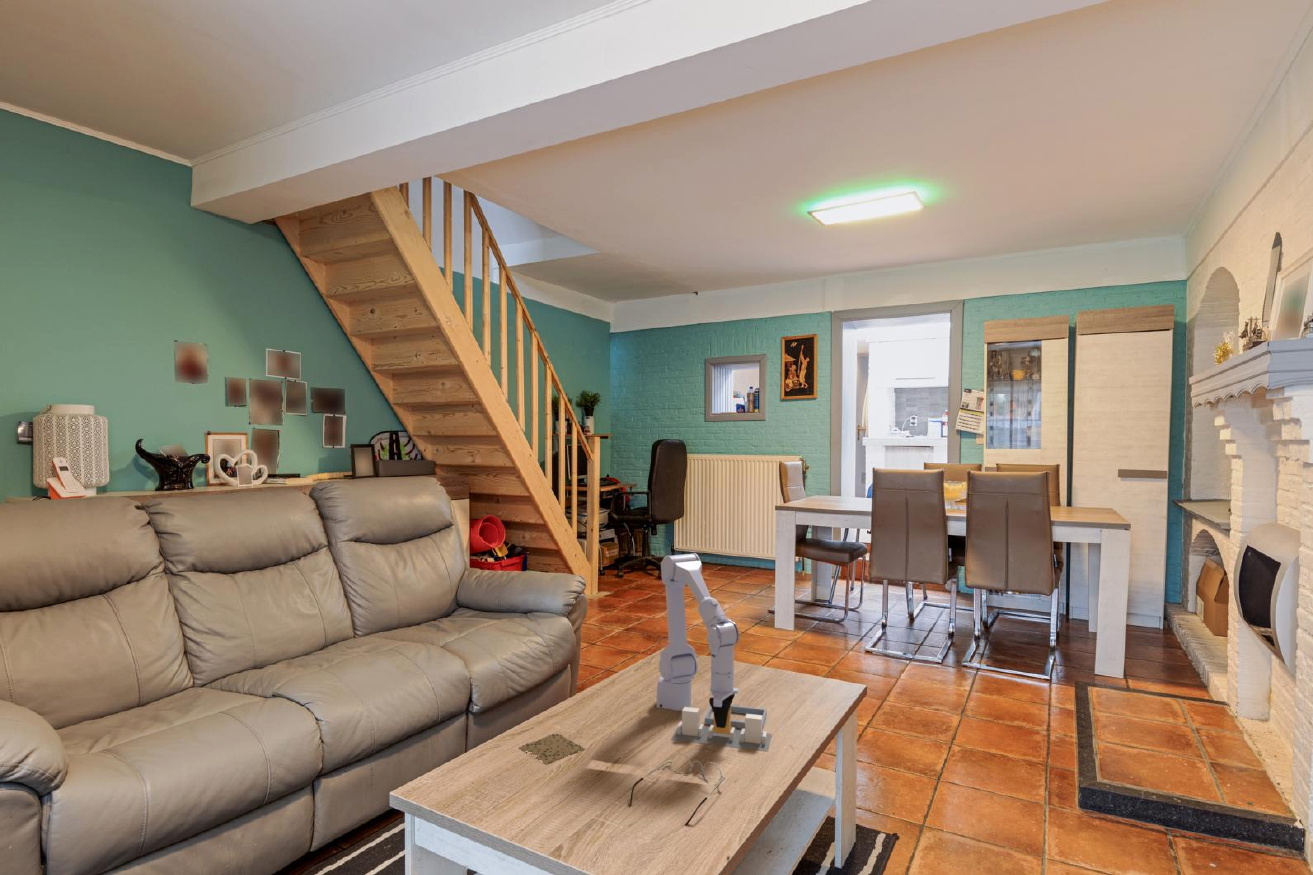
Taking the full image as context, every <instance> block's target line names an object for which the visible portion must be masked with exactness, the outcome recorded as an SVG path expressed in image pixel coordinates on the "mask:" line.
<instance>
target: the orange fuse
mask: <svg viewBox="0 0 1313 875" xmlns="http://www.w3.org/2000/svg"><path fill="white" fill-rule="evenodd" d="M713 718H714V729H713V733H719V734H727V735H729V734H730V731H731V729H732V727H731V720H732V712H731V707H730V708H729V710H728V715H727V721H726V726H725V728H720V727H717V726H716V722H715V717H714V716H713Z"/></svg>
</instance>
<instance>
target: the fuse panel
mask: <svg viewBox="0 0 1313 875" xmlns="http://www.w3.org/2000/svg"><path fill="white" fill-rule="evenodd" d="M713 729H714V725H710V726H709V725H708V726H706V725H705V723H700V727H699V730H698V736H692V735H684V734H682V720H680V721H679V723H678V725H677V727H676V729H675V731H674V733H673V735H672V737H671V739H670V740H671V741H676V742H677V741H678V742H685V743H686V742H687V743H693V744H702V745H709V746H718V747H727V748H733V749H734V748H735V749H743V750H751V751H759V752H767V753H768V752H769V749H770V744H771V739H772V735H773V734H772V733H769V732H768V731H766V730H763V731H762V743H761V744H759V743H750V742H745V729H744V728H741V730H740V729H736V728H735V727H731V731H730V734H729V735H727V734H719V733H713Z"/></svg>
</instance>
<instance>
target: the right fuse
mask: <svg viewBox="0 0 1313 875" xmlns="http://www.w3.org/2000/svg"><path fill="white" fill-rule="evenodd" d="M744 719H745V720H744V722H745V742H750V743H759V744H761V743H762V733H763V731H762V720H763V715H754V714H745V716H744Z"/></svg>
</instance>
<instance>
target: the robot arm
mask: <svg viewBox="0 0 1313 875" xmlns="http://www.w3.org/2000/svg"><path fill="white" fill-rule="evenodd" d="M702 570H703V564H702V561H701V559H700V557H699V555H698V554H697V553H696V552H692V553H685V554H675V555H665V556H664V557H663V559H662V561H661V562H660V574H661V583H662V584H663V585H665V599H666V615H667V631H668V644H667V645H666V646H665V647H664V648H663V649H661V651H660V654H659V655H660V656H659V665H658V669H659V673H660V677H659V678H658V680H657V686H656V708H657V709H658V708H659V709H660V708H661V709H665V710H666V709H667V710H671V711H680V712H682V710H683V708H684V707H691V708H692V680H694V679H695V678H694V677H695V675H696V674H697V673H698V670H699V662H698V659H697V654H696V649H695V648H694V647H692V645H690V644H688V638H687V636H688V634H687V621H686V606H685V604H686V603H685V589H684V588H685V586H686V585H687V587H688V588H689V590H690V591H691V593H692V594H693V596H694V598H695V599H696V601H697V602H698V606H697V611H698V614H699V616H700V617H701V619H702V622H703V624H704V625H705V628H706V629H707V632H706V640H707V642H708V650H709V653H710V654H711V655H710V658H711V660H710V664H711V666H710V687H709V691H710V694H711V696H712V697H709V700H708V704H709V705H710V706H711V707H712V710H713V712H712V714H713V718H714V717H715V722H716V726H717V727H720V728H725V726H726V721H727V715H728V710H729V708H730V706H732V703H733V699H734V698H735V695H737V694H738V693H739V688H738V687H734V686H735V685H734V684H735V674H734V673H735V672H734V671H735V645H737V644H738V642H739V640H740V632H739V628H738V626H737V624H736V622H734V621H732V620H731V618H728V617H727V616H726V613H725V612H724V610H723V609H722V607H721V604H720V603H719V601H718V599H716V598H713V597H711V594H710V592H709V589H708V587H707V584H706V582H705V579H704V578H703V575H702ZM710 706H709V707H710Z"/></svg>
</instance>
